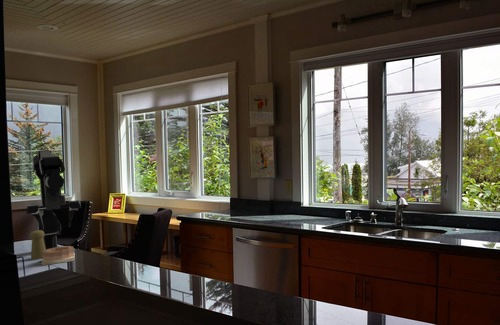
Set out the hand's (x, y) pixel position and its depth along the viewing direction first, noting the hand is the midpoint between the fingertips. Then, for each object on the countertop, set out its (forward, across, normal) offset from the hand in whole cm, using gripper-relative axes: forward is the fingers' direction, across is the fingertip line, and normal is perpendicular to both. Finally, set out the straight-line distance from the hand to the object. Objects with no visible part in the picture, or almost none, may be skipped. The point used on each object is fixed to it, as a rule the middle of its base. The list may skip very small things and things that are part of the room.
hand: (56, 229), depth 164 cm
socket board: (+12, 0, 0) cm, 12 cm away
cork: (+12, -8, +11) cm, 18 cm away
